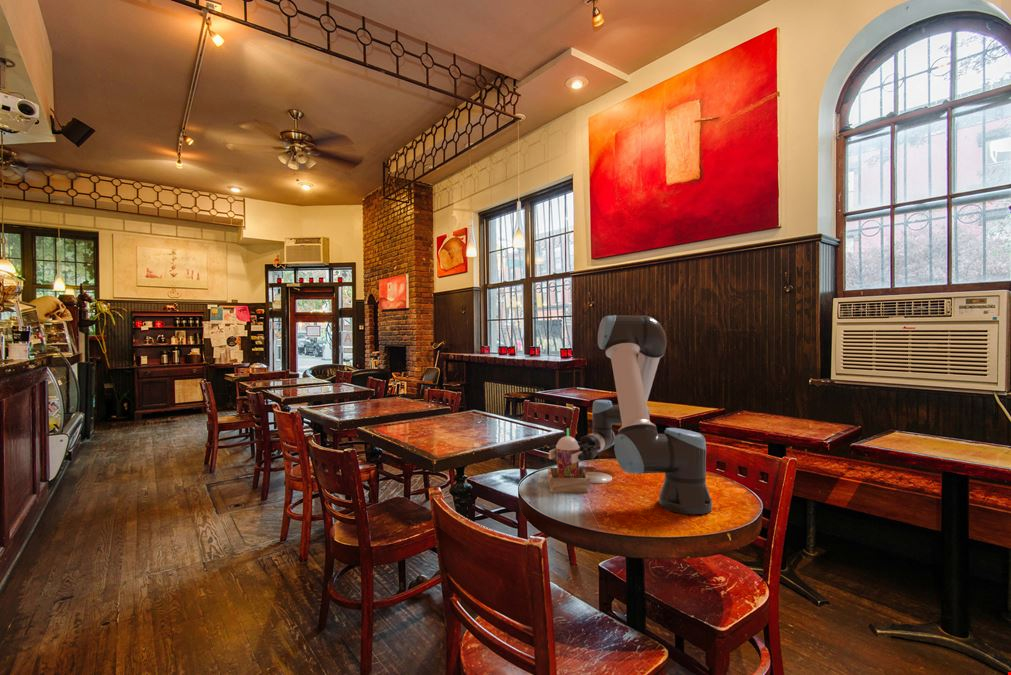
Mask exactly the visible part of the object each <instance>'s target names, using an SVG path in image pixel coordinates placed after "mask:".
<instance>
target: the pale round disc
mask: <svg viewBox="0 0 1011 675" xmlns="http://www.w3.org/2000/svg"><path fill="white" fill-rule="evenodd" d="M586 473H587V475H588V477H589V484H606V483H607V484H608V483H610V482H612V480H613V477H612V475H610V474H608V473H604V472H599V471H586Z"/></svg>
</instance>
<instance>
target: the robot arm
mask: <svg viewBox="0 0 1011 675" xmlns="http://www.w3.org/2000/svg"><path fill="white" fill-rule="evenodd" d="M597 345H598V348H599V349H600V350H604V351H605V355H606V357H607V358H609V359H610V361H611V367H612V371H613V372H612V373H613V379H614V384H615V390H616V397H617V402H618V404H613V402H612V401H611V400H610V399H595V400H594V401H593V403H592V411H591V413H592V415H591V416H592V433H589V434H586V435H583V436H581V437H580V438H579V440H578V441H577V442H578V445H579V446H580V452H577V453H575V454H573V455H571V463H575V462H578V461H579V462H580V461H582V460H587V459H588V460H591V461H592V460H593V459H594V458H596V457H597V456H599V455H600V454H601V452H602V451H605V450H608V449H610V448H611V447H612V446H614V447H613V450H614V455H615V458H616V461H617V464H618V465H619V467H620V468H621V469H622V471H624V472H625V473H627V474H637V475H642V474H664V481H663V484H662V487H661V489H660V492H659V496H658V503H659V505H660V507H661V508H663V509H665V510H668V511H669V510H670V512H672V511H673V513H676V512H677V513H676V514H681V515H688V514H690V516H692V515H693V516H696V515H695V514H702V515H706V514H705V513H707V514H709V513H711V512H712V511H711V510H713V509H712V508H713V502H712V497H711V495H710V493H709V490H708V486H707V481H706V479H707V478H706V476H707V475H706V473H707V472H706V471H707V464H706V462H707V461H706V460H707V457H706V456H707V444H706V438H705V436H704V435H703V434H701V433H700V432H696V431H692V430H690V429H689V430H688V429H683V428H679V427H678V428H677V427H666V428H665V430H664V433H658V429H657V426H656V424H654V423H652V422H651V420H650V415H651V413H650V408H649V406H648V405H647V402H648V400H649V397H650V394H651V389H652V387H653V383H654V379H655V376H656V373H657V370H658V365H659V363H660V360H661V358H662V357H664V355H665V353H666V349H667V336H666V332H665V330H664V327H663V326H662V324H660V322H659V321H657V320H656V319H655V318H653V317H652V316H648V315H646V314H645V315H643V314H642V315H616V314H614V315H606V316H604V317H603V318H602V319H601V321H600V323H599V327H598V331H597ZM613 425H621V426H620V428H619V429H618V432H617V433H618V434H617V435H616V434H615V432H614V431H613ZM556 445H557V444H556ZM556 445H553V446H552V449H551V450H549V451H548V459H549V460H552V459H555V458H557V457H556ZM710 511H711V512H710ZM691 514H692V515H691Z"/></svg>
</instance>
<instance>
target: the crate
mask: <svg viewBox="0 0 1011 675" xmlns="http://www.w3.org/2000/svg"><path fill="white" fill-rule="evenodd" d="M586 472H587V471H586V469H585V467H579V469H578V478H558V473H557V467H550V466H549V467H547V483H548V482H549V483H548V487H550V488H549V492H550V491H551V492H550V493H590V483H589V477H588V475H587V473H586Z"/></svg>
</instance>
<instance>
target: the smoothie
mask: <svg viewBox="0 0 1011 675" xmlns="http://www.w3.org/2000/svg"><path fill="white" fill-rule="evenodd" d="M569 430H570V428H566V435H565V436H562V437H561V438H559V439H558V441H557V443H556V457H555V458H556V468H557V473H558V478H578V469H579V468H580V461H578V462H575V463H571V455H573V454H575V453H577V452H580V446H579V445H578V441H577V440H576V438H574V437H572V436H571V435H570V432H569Z"/></svg>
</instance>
